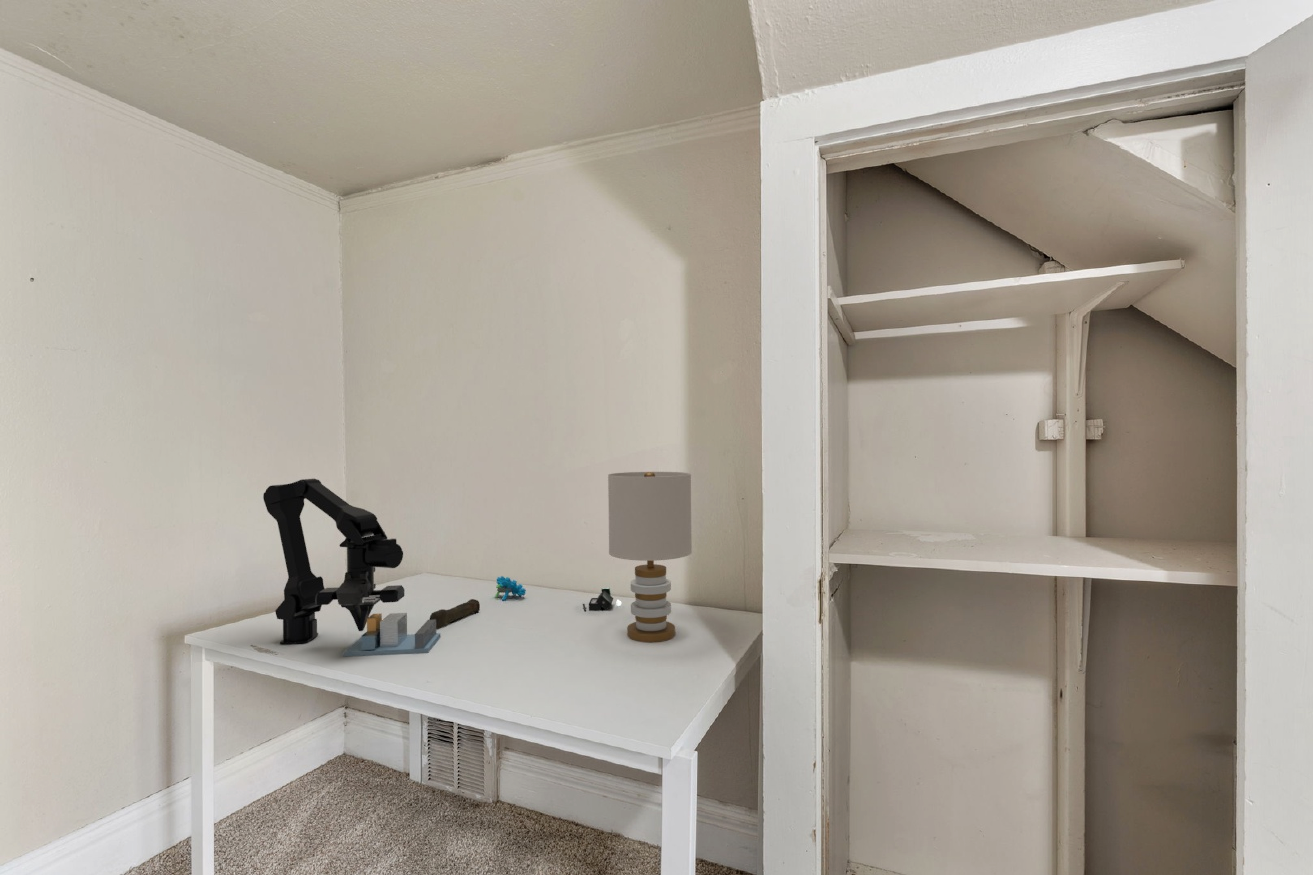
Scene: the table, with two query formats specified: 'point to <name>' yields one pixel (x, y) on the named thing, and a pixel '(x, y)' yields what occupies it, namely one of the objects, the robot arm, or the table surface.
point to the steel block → (393, 630)
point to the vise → (412, 644)
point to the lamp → (650, 541)
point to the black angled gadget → (601, 601)
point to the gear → (508, 587)
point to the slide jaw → (372, 633)
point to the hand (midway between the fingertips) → (361, 630)
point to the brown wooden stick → (454, 613)
